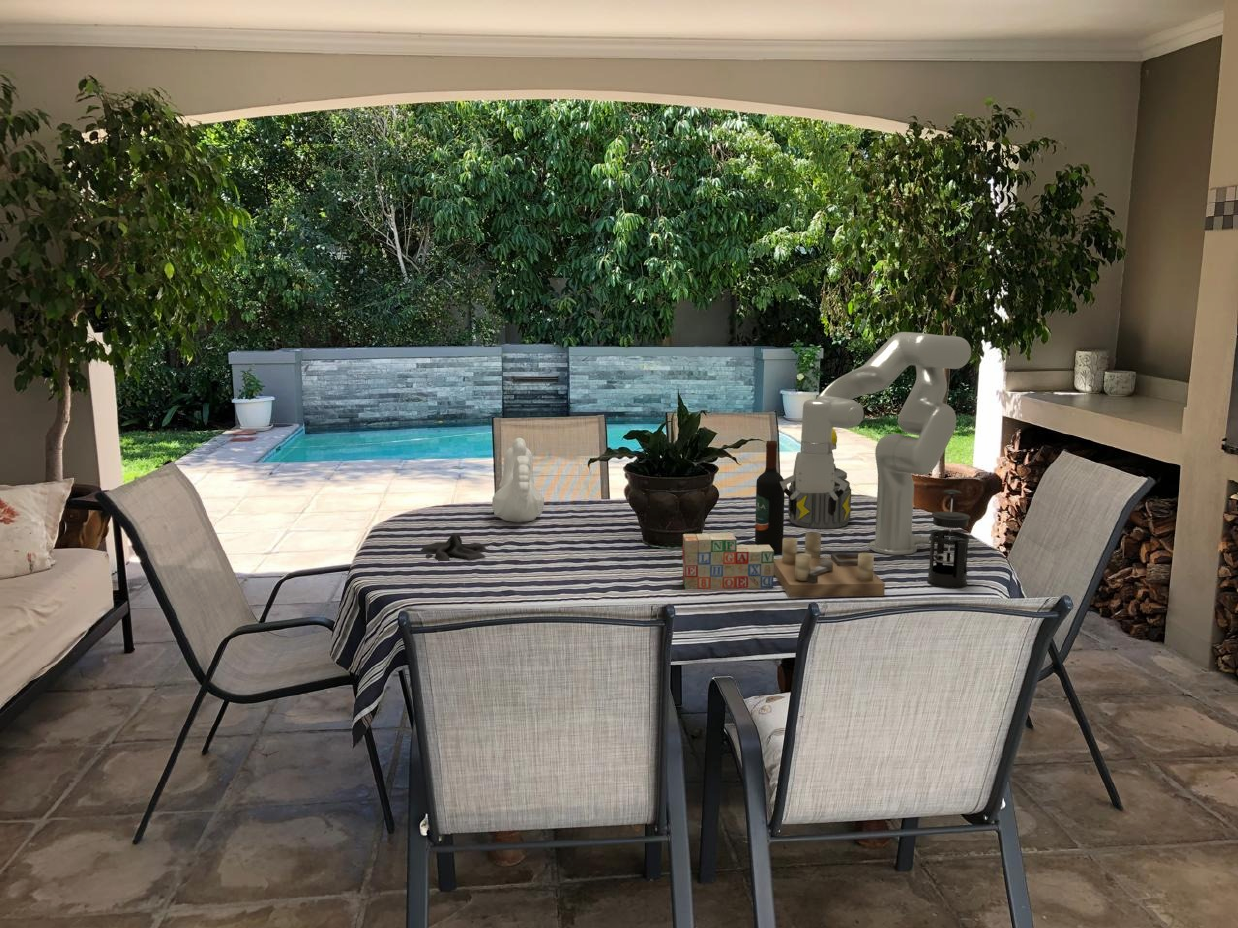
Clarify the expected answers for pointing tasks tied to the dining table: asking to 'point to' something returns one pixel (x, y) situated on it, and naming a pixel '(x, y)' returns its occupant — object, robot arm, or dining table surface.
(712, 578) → the stack of blocks
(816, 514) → the decorative lamp
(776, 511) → the wine bottle
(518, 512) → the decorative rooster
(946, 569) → the french press
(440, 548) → the cloth
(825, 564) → the hinged leg
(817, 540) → the loose leg
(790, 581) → the wooden peg board
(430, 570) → the dining table surface
